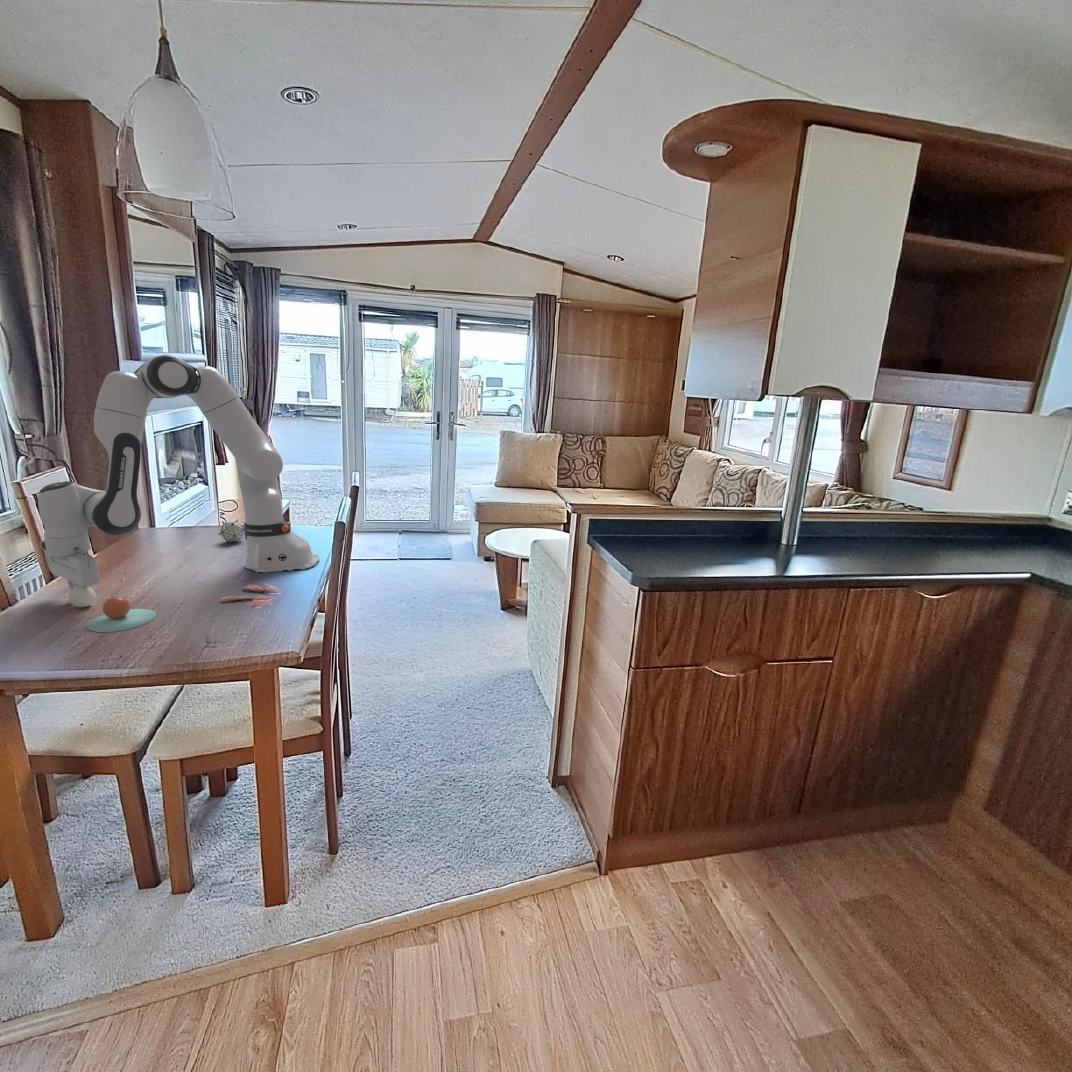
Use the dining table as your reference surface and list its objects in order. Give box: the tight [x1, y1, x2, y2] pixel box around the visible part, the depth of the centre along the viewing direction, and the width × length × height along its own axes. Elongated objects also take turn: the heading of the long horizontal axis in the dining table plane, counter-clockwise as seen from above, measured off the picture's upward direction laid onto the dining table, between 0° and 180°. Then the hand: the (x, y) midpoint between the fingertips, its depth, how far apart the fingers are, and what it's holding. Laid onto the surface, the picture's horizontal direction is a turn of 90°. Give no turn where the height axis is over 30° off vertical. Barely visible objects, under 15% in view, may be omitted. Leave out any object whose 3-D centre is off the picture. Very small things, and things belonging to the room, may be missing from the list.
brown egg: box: [102, 596, 131, 619], centre depth 142 cm, size 6×6×6 cm
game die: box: [217, 519, 244, 545], centre depth 209 cm, size 9×8×10 cm
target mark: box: [86, 608, 157, 633], centre depth 141 cm, size 14×14×1 cm
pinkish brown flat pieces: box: [220, 582, 283, 608], centre depth 160 cm, size 20×22×2 cm
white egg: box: [68, 586, 97, 608], centre depth 148 cm, size 6×6×6 cm
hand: (78, 595), depth 152 cm, fingers closed
